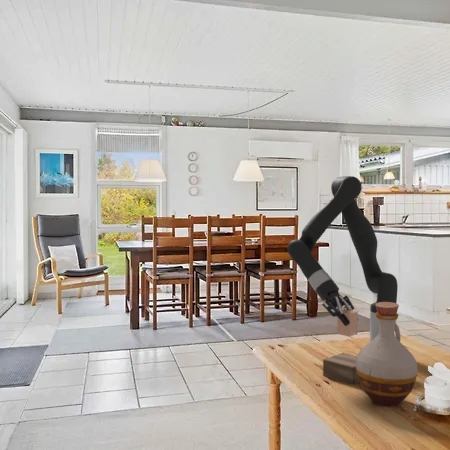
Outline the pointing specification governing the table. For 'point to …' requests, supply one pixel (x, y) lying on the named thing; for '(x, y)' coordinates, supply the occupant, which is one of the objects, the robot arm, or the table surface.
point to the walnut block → (341, 368)
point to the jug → (386, 361)
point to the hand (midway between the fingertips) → (352, 322)
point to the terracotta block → (351, 327)
